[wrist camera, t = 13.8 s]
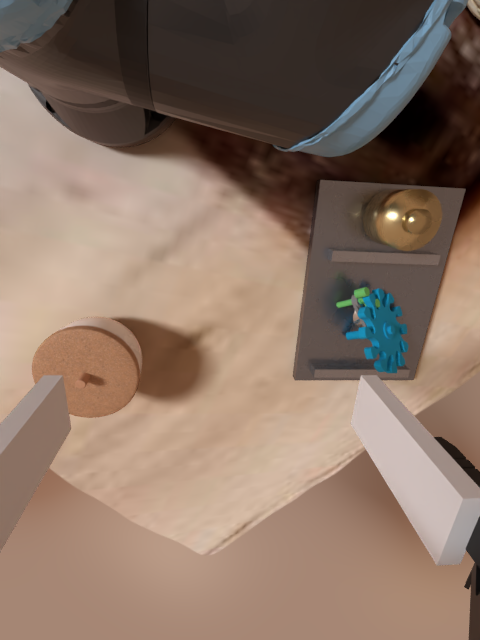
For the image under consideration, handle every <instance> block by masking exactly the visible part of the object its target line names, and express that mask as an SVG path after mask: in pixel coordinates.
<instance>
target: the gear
mask: <svg viewBox="0 0 480 640" xmlns="http://www.w3.org/2000/svg"><path fill="white" fill-rule="evenodd" d="M392 303H394V298H393V296H392V294H391V293H387V294H384V291H383V290H382V289H375V290H372V294H370V292H369V289H368V288H367V287H364V288H360V289H356V290H354V295H352V297H351V299H349V300H345V301H341V302H337V304H336V305H337V307H338V308H341V307H346V306H350V305H353V307H354V309H355V311H356V313H357V315H358V317H359V319H360V321H361V323H362V325H363V327H360V328H359V330H358V331H352V332H347V333H346V338H347V340H352V339H368V340H370V341H371V342H372V347H366V348H364V353H365V356H366V359H375V358H376V357H377V355H378V353H379V360H377V361H375V362H374V367H375V369H376V370H377V371H378V372H386V373H397V366H403V365H404V364H405V359H404V357H403V356H402V353H405V352H407V351H408V347H409V345H408V343H407V342H405V341H404V340H403V338H402V337H401V335H402V334H407V325H406V324H400V323H399V322H398V321H397V320H396V317H400V316H402V310H401V307H400V306H397V307H392V308H391V310H390V304H392ZM364 304H365V305H364Z"/></svg>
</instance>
